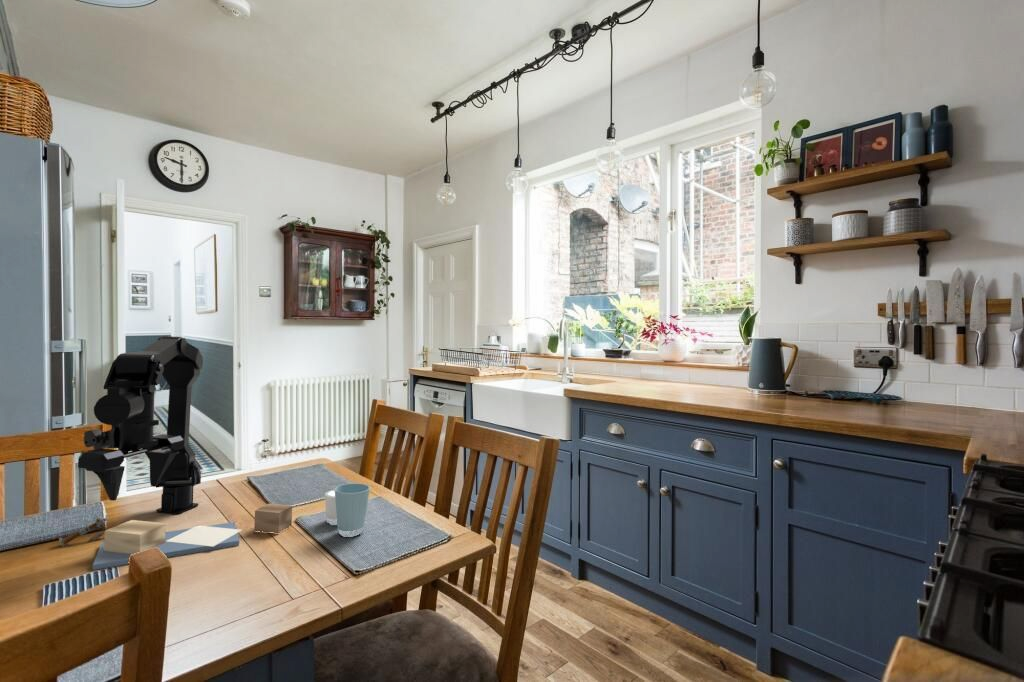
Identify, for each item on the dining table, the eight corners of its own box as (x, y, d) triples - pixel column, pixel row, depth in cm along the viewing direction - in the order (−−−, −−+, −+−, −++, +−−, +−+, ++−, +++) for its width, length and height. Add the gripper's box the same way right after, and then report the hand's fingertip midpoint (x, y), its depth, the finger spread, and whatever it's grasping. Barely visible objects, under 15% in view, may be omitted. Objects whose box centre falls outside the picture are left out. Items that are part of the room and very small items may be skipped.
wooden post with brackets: (115, 533, 108) (105, 516, 107) (70, 557, 103) (58, 540, 102) (115, 531, 109) (104, 514, 108) (70, 554, 105) (58, 537, 103)
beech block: (131, 538, 105) (131, 519, 105) (165, 542, 104) (165, 523, 104) (104, 550, 99) (104, 530, 99) (139, 554, 98) (140, 534, 98)
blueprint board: (91, 572, 93) (92, 566, 93) (102, 544, 104) (102, 539, 104) (245, 546, 106) (245, 540, 106) (239, 523, 118) (239, 519, 118)
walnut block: (268, 524, 119) (268, 503, 119) (291, 526, 118) (292, 505, 118) (254, 532, 114) (254, 510, 114) (278, 535, 113) (279, 512, 113)
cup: (350, 542, 110) (352, 495, 110) (325, 535, 113) (327, 489, 113) (375, 531, 117) (376, 486, 117) (350, 524, 120) (352, 481, 120)
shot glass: (359, 519, 124) (360, 491, 124) (339, 528, 117) (340, 499, 117) (338, 514, 126) (339, 486, 126) (317, 523, 120) (318, 494, 120)
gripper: (142, 407, 112) (140, 477, 112) (53, 421, 93) (51, 504, 94) (186, 410, 110) (184, 481, 110) (105, 425, 92) (103, 510, 92)
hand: (134, 493), depth 102 cm, fingers open, 9 cm apart
